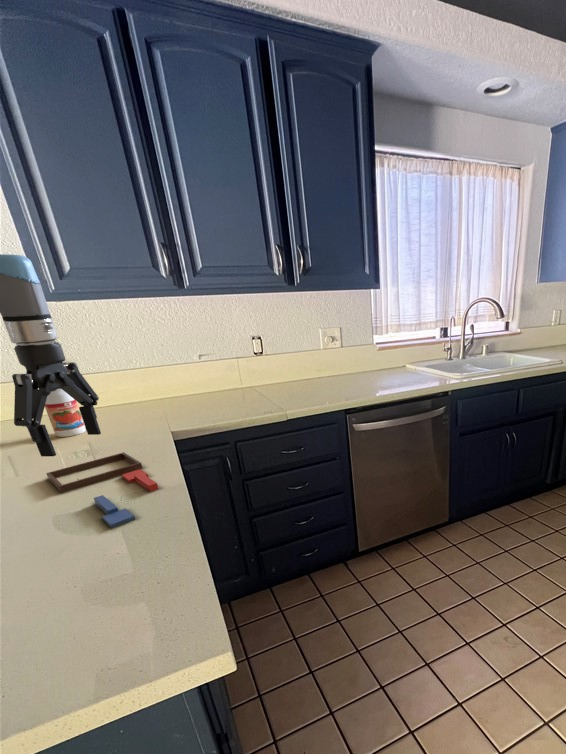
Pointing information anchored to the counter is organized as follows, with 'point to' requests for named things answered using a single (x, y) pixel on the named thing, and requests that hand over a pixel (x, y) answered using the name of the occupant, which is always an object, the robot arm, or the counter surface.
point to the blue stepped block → (113, 512)
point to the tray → (97, 478)
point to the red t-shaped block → (141, 479)
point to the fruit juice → (64, 414)
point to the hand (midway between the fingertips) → (73, 444)
